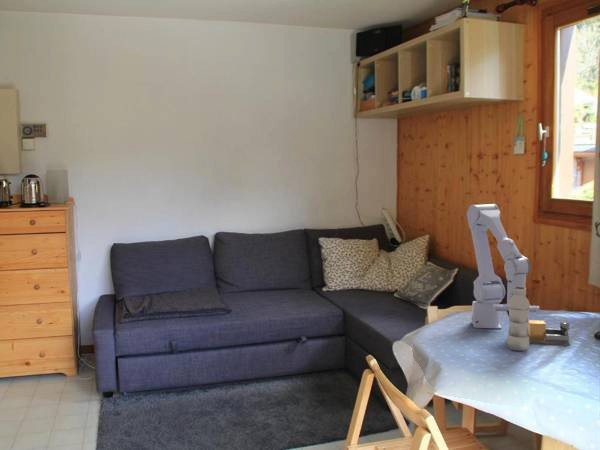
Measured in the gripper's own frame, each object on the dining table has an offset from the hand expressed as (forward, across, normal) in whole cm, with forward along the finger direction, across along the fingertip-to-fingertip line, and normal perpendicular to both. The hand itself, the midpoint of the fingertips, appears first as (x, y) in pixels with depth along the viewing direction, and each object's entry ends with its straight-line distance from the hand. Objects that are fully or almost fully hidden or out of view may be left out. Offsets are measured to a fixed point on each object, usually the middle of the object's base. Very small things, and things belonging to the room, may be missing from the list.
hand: (515, 332), depth 191 cm
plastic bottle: (+2, -1, -12) cm, 12 cm away
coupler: (+2, +10, 0) cm, 11 cm away
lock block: (+1, +7, 0) cm, 7 cm away
